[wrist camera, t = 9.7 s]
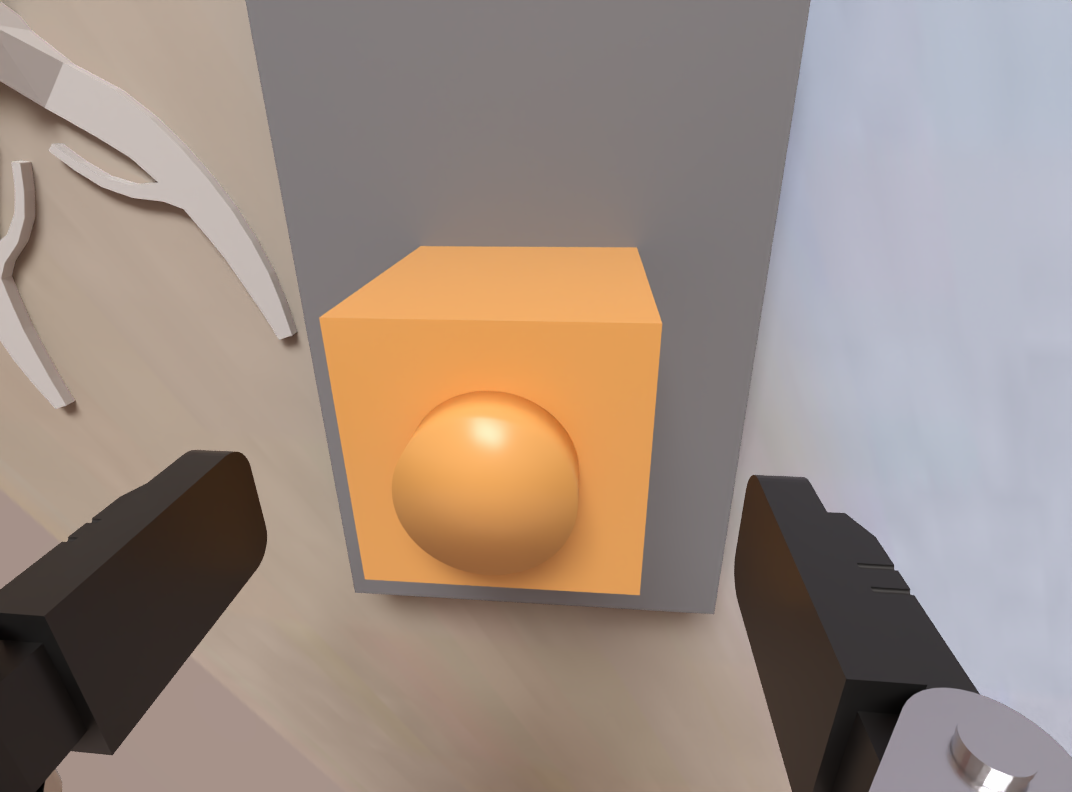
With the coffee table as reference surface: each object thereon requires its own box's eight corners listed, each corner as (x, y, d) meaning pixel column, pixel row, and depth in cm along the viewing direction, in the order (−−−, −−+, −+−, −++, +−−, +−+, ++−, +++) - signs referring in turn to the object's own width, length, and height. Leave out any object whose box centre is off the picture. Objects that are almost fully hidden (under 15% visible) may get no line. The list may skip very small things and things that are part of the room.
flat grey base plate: (791, -53, 13) (964, -208, 7) (703, 571, 21) (749, 759, 15) (280, -35, 14) (40, -155, 8) (375, 553, 22) (288, 722, 16)
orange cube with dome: (636, 247, 14) (670, 346, 8) (625, 440, 17) (643, 636, 10) (420, 246, 15) (289, 338, 8) (438, 434, 17) (345, 618, 11)
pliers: (27, 422, 19) (-384, -132, 14) (67, 401, 21) (-291, -108, 15) (285, 343, 17) (-74, -349, 12) (309, 326, 19) (0, -297, 13)
